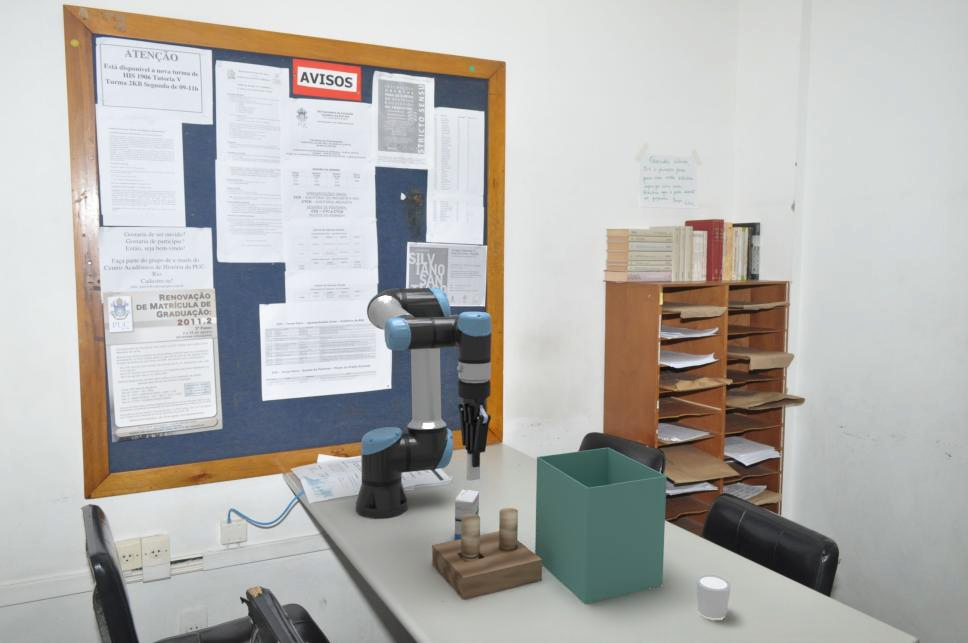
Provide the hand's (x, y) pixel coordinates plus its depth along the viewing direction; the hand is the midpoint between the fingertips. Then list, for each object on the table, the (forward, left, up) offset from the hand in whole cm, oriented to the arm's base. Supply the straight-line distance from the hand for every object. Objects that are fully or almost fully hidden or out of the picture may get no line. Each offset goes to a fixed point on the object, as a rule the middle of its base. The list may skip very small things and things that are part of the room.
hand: (473, 478), depth 156 cm
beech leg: (+1, -1, -23) cm, 23 cm away
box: (+12, +27, -23) cm, 38 cm away
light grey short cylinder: (+38, +38, -23) cm, 59 cm away
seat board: (+1, +3, -23) cm, 23 cm away
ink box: (-18, +7, -23) cm, 30 cm away
